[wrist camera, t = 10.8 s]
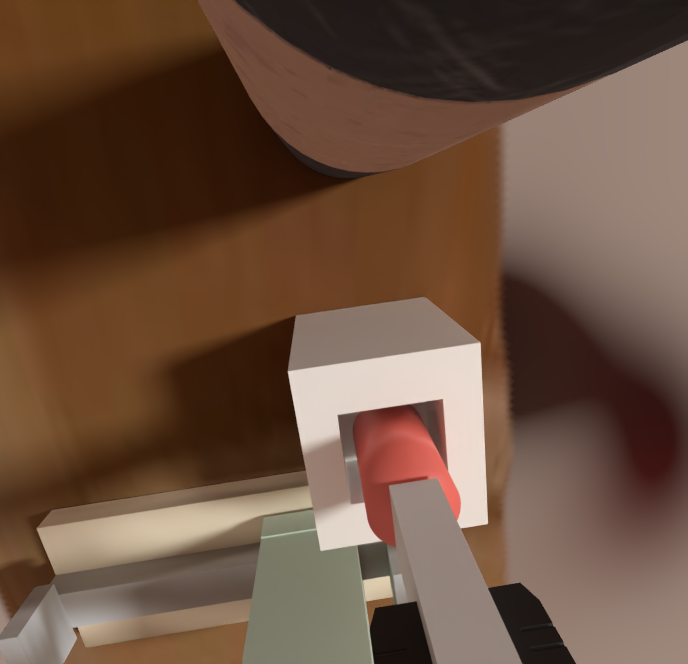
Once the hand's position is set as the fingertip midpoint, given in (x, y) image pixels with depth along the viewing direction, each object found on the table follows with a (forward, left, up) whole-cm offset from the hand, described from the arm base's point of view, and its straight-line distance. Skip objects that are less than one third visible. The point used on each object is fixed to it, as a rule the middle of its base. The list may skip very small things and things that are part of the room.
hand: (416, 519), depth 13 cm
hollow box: (0, 0, -12) cm, 12 cm away
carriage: (+10, -5, -10) cm, 15 cm away
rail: (+10, -10, -11) cm, 18 cm away
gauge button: (0, 0, -5) cm, 5 cm away
